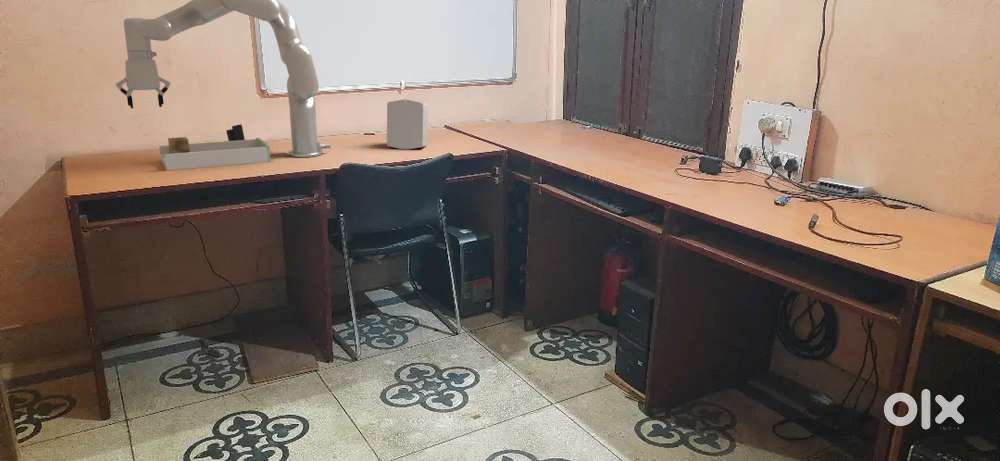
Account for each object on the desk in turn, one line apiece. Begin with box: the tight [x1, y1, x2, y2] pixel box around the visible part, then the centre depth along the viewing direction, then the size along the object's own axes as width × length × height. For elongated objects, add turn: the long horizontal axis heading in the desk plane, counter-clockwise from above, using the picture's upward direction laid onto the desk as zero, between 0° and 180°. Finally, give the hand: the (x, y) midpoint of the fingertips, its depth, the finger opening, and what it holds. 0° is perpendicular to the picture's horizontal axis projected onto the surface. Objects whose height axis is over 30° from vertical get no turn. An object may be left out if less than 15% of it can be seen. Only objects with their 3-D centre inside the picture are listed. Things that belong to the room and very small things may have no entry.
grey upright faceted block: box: [386, 98, 429, 150], centre depth 296 cm, size 15×15×20 cm
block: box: [167, 136, 190, 154], centre depth 259 cm, size 6×6×6 cm
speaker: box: [226, 124, 246, 141], centre depth 282 cm, size 8×6×10 cm
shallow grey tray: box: [158, 137, 271, 171], centre depth 262 cm, size 35×18×6 cm, turn 120°
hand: (146, 107), depth 250 cm, fingers open, 8 cm apart
